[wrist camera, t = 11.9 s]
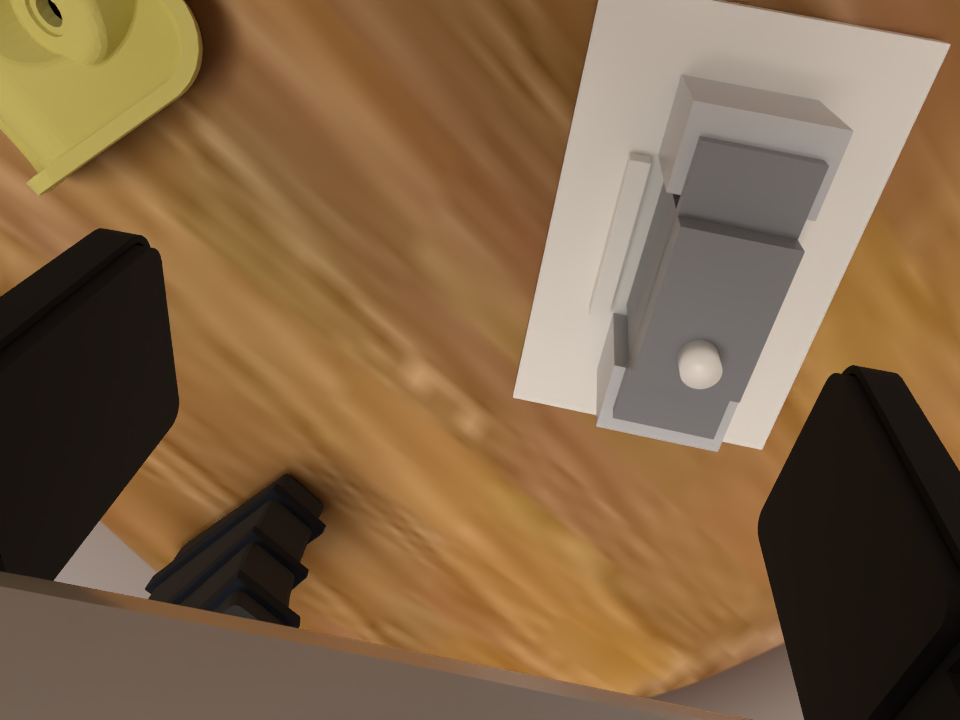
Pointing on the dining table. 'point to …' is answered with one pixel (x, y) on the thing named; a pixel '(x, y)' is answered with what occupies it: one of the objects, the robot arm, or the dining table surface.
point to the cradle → (667, 157)
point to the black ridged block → (247, 558)
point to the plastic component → (89, 75)
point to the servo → (713, 283)
